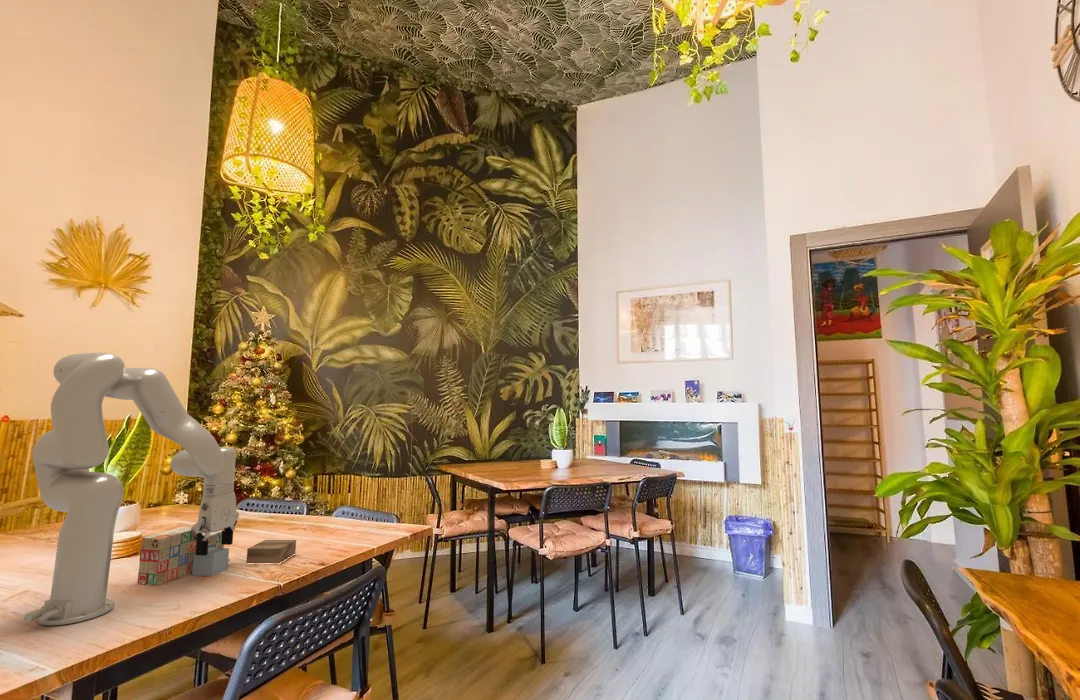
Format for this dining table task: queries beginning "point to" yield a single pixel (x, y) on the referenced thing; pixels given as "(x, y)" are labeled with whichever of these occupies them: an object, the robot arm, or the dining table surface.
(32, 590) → the dining table surface
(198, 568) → the grey cube
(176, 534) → the stack of blocks
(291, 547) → the walnut block
